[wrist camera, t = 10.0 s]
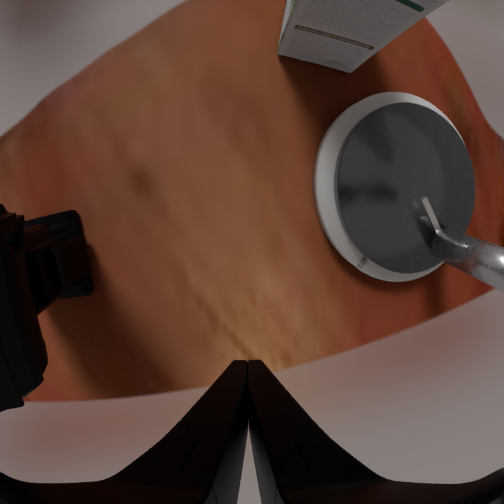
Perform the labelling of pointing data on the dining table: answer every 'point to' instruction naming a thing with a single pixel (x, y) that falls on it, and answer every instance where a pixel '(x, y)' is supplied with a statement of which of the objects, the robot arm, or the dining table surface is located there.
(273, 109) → the dining table surface
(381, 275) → the base
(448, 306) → the dining table surface
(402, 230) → the dial
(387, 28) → the syrup box
